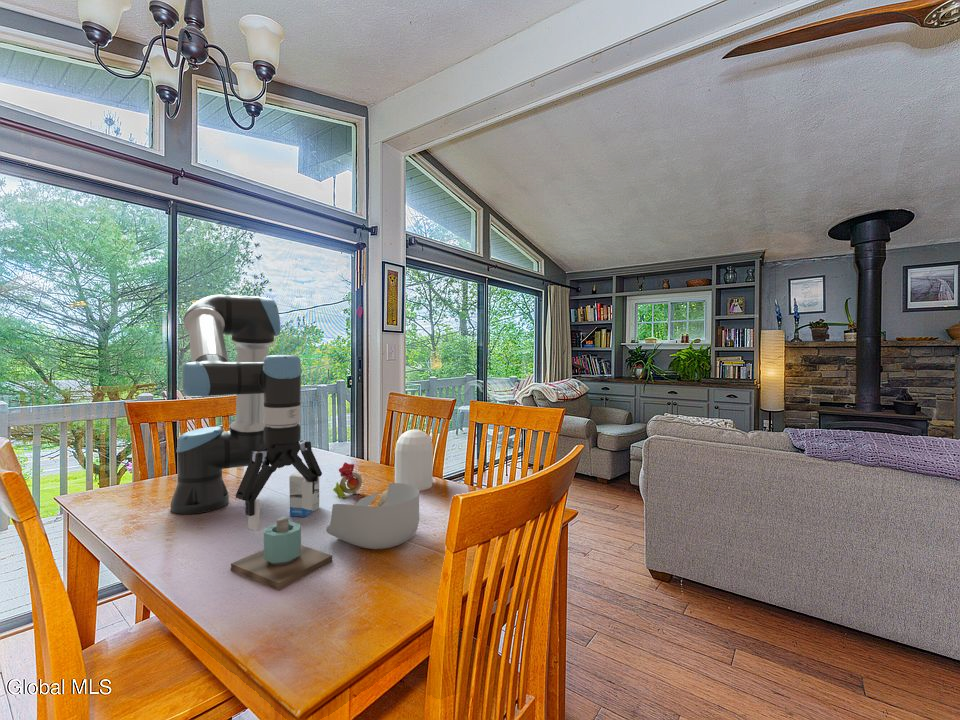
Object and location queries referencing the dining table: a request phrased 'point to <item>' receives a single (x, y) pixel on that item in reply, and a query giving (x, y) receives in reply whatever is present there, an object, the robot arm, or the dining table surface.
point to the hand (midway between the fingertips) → (282, 518)
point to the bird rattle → (351, 483)
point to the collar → (282, 543)
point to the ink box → (296, 496)
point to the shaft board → (281, 564)
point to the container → (414, 460)
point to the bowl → (378, 519)
